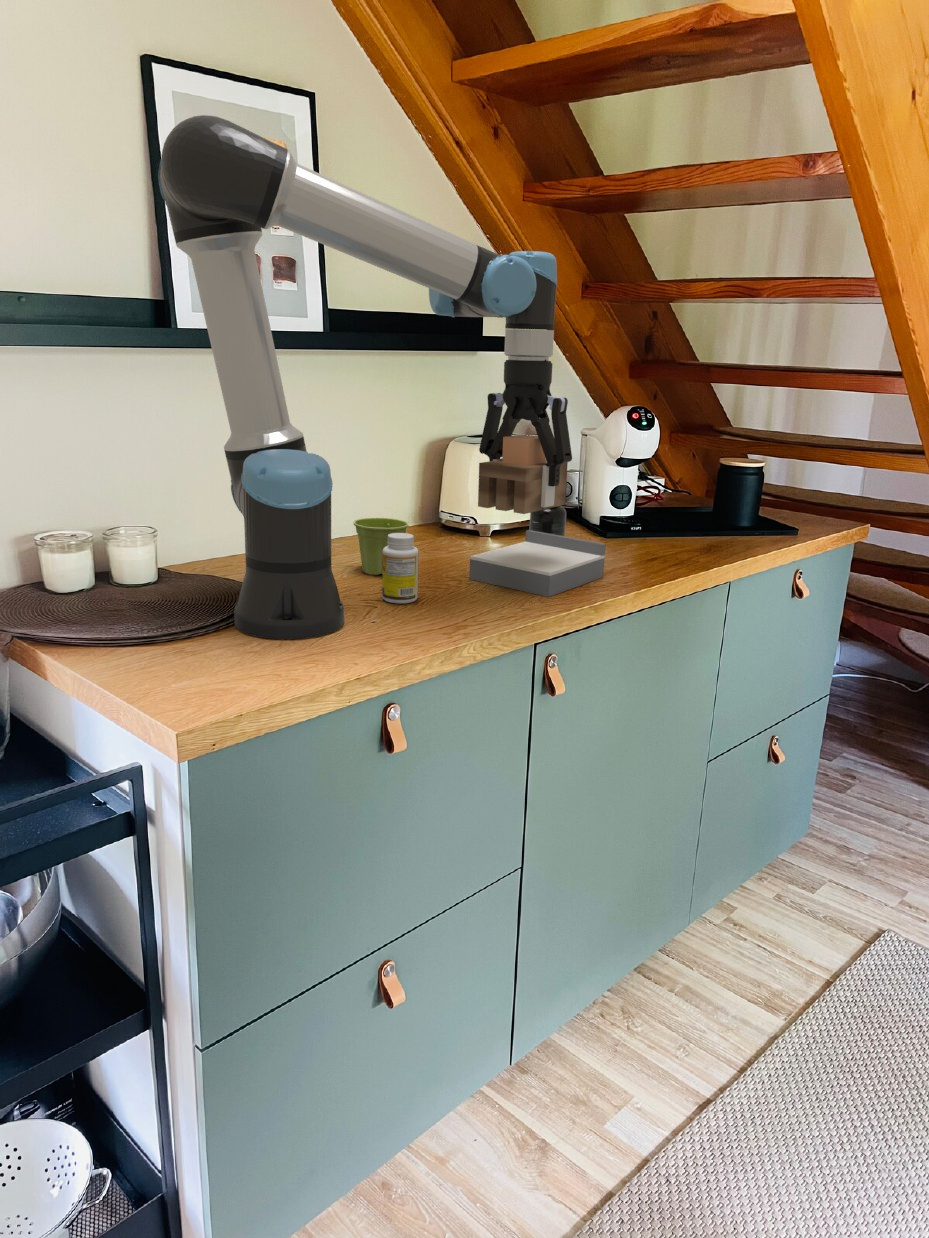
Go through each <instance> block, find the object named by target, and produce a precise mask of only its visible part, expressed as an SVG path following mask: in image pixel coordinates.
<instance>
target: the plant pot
mask: <svg viewBox="0 0 929 1238" xmlns="http://www.w3.org/2000/svg"><path fill="white" fill-rule="evenodd" d="M409 525H410V523H409V522H408V521H406V520H402V519H398V518H388V517H367V518H363V517H362V518H357V519H355V520H354V521H353V526H355V531H356V533H357V537H358V544H359V545H358V546H359V553H360V559H361V569H362V571H363V573H365V574H368V575H372V576H379V575H382V552H383V549H384V547H386V546H388V542H387V541H388V535H389V534H392V533H406V532H407V528H408V527H409Z"/></svg>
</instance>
